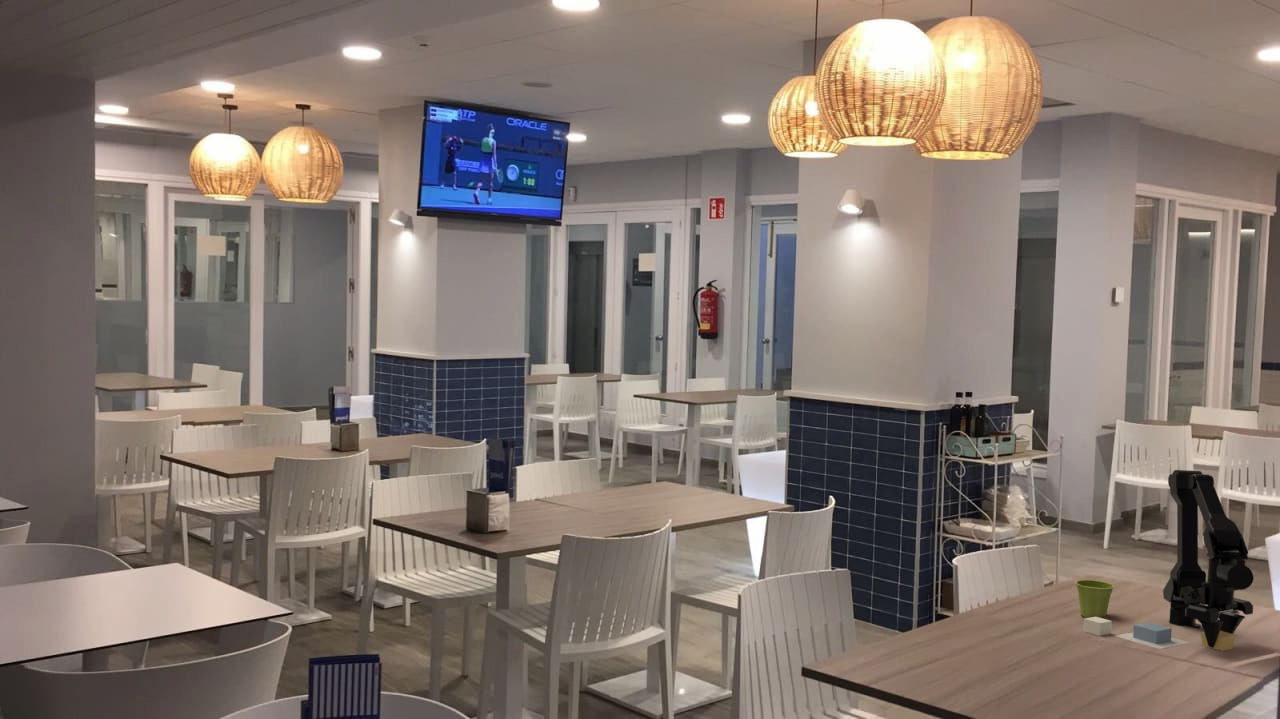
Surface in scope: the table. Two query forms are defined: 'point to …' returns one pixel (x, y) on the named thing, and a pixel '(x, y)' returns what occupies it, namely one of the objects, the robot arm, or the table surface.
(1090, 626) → the brick cream
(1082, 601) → the plant pot
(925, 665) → the table surface
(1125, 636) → the build plate
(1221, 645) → the brick ochre
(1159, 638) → the base brick
